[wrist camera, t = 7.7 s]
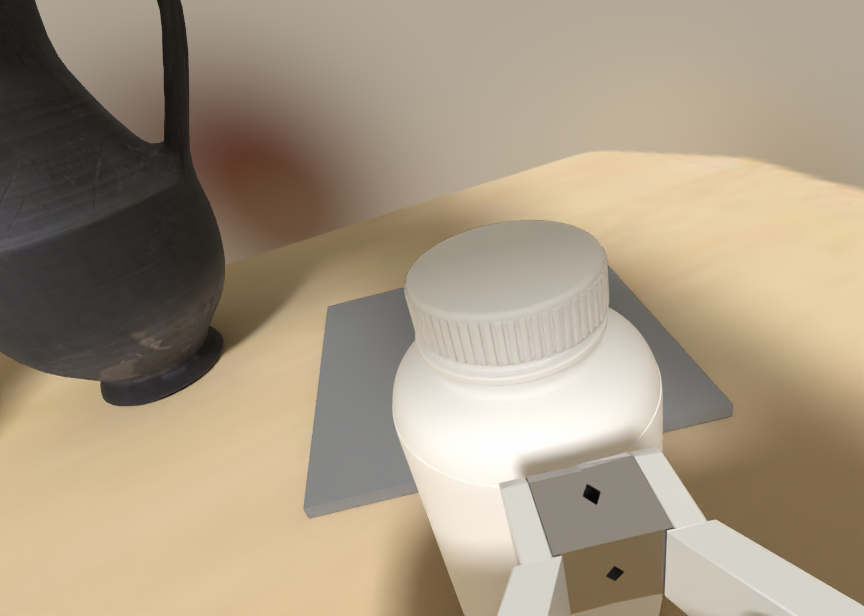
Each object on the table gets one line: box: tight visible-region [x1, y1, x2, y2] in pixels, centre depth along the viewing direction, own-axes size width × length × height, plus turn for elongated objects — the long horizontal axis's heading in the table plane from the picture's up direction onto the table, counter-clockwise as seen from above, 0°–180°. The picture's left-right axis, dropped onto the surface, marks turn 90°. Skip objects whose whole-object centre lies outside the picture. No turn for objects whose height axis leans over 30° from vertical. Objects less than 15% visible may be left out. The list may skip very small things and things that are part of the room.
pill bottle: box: [392, 220, 663, 616], centre depth 17 cm, size 8×8×15 cm
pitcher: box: [0, 0, 225, 406], centre depth 35 cm, size 17×21×30 cm
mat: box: [303, 265, 733, 518], centre depth 35 cm, size 22×20×1 cm
